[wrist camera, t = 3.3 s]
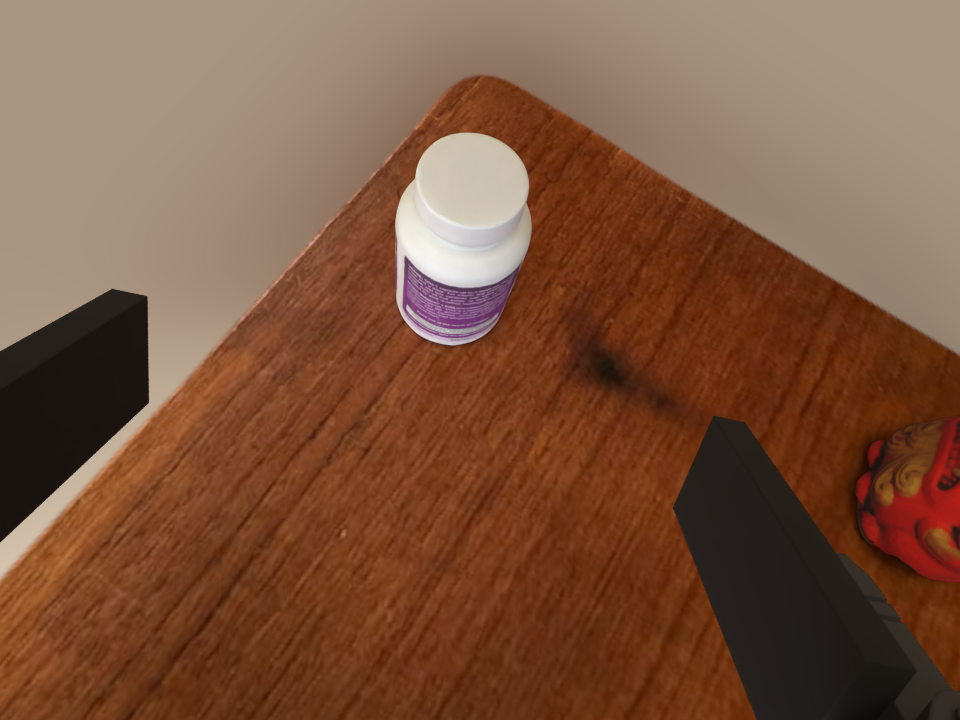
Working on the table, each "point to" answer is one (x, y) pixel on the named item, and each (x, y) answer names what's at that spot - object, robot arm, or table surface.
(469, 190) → the pill bottle
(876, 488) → the red clay folk toy
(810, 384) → the table surface
